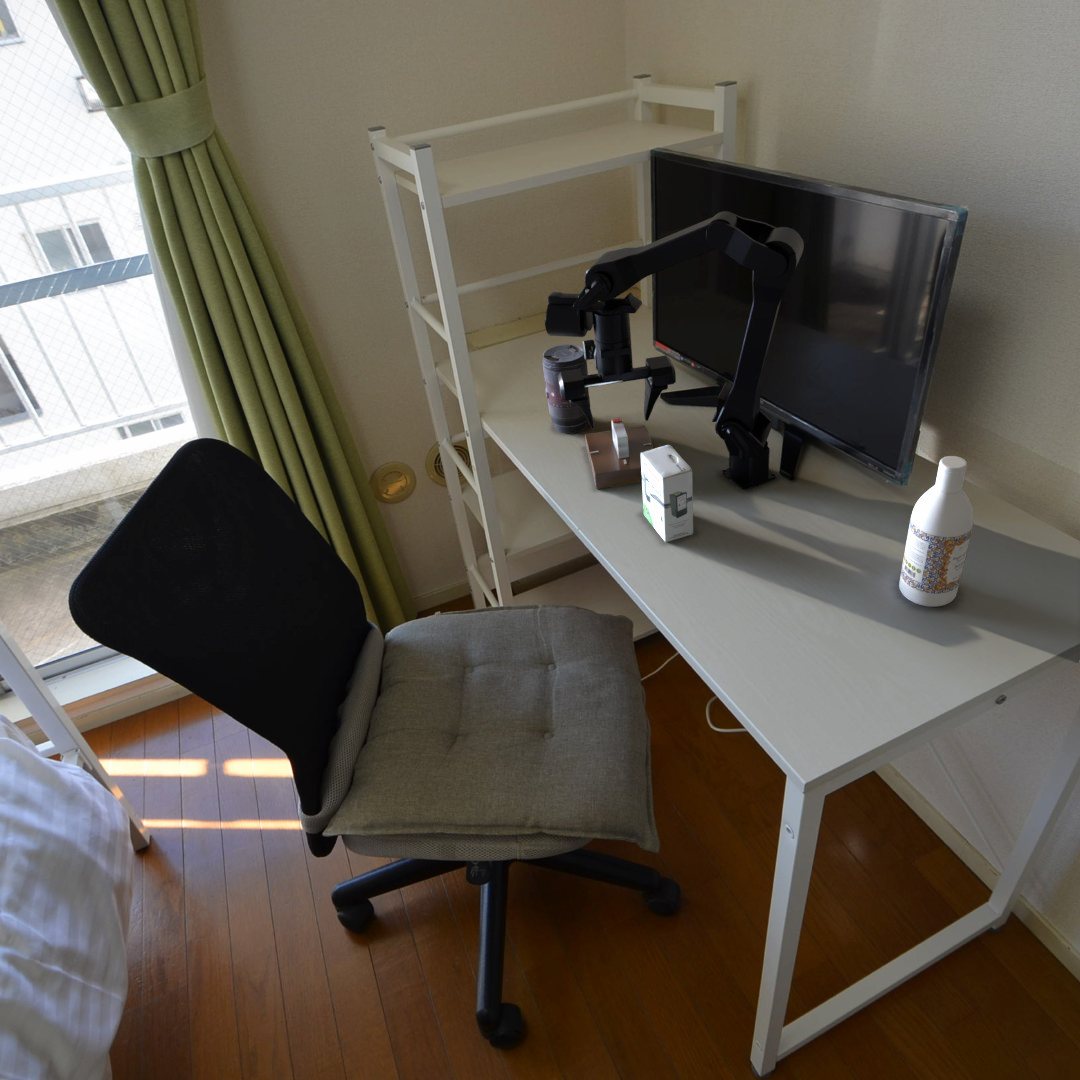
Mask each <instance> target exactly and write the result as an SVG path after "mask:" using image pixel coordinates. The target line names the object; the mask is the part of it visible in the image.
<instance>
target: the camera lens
mask: <svg viewBox="0 0 1080 1080" xmlns="http://www.w3.org/2000/svg"><path fill="white" fill-rule="evenodd" d="M542 368H543V369H542V370H543V377H544V382H545V396H546V397H545V398H546V399H547V403H548V405H547V406H548V412H549V415H550V416H549V417H550V420H551V422H552V423H553V426H554V429H555V430H556V431H557V432H559V433H562V434H563V433H564V434H575V433H578V432H581V431H583V430H585V429H586V428H587V427H588V426H589V425H590V424H589V422H588V420H587V418H586V416H585V414H584V413H583V411H582V410H581V409H580V407H579V406H578V405H577V404H571V403H570V400H567V401H565V400H562V398H561V393H560V389H559V383H558V375H559V373H560V372H561V371H568V370H574V369H581V372H582V376H586V375H589V370H588V360H585V358H584V351H583V347H581V346H579V345H577V344H570V343H569V344H558V345H555V346H551V347H549V348H547V349H545V350H544V352H543V353H542ZM585 390H586V394H587V397H588V401H589V405H590V406H591V399H590V391H589V387H587V388H585Z"/></svg>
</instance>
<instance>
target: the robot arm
mask: <svg viewBox="0 0 1080 1080" xmlns="http://www.w3.org/2000/svg"><path fill="white" fill-rule="evenodd" d="M804 244H805V243H804V239H802V237H801V235H800V233H799V232H797V231H796V230H795V229H793V228H791V227H788V226H780V227H776V226H774V225H772V224H769V223H767V222H764V221H759V220H756V219H751V218H747V217H743V216H740V215H737V214H735V213H733V212H730V211H725V210H724V211H719V212H717V213H716V214H715V215H714V216H713V217H709V218H707V219H705V220H703V221H700V222H698V223H695V224H693V225H691V226H688V227H686V228H684V229H681V230H679V231H677V232H673V233H672V234H669V235H667V236H664V237H662V238H659V239H658V240H655V241H652V242H651V243H648V244H646V245H642V246H637V247H624V248H619V249H615V250H614V249H613V250H610V251H606V252H605V253H603V254H601V255H600V256H599V257H598V258H597V260H596V261H594V262H593V264H592V265H590V266H589V268H587V270H586V272H585V274H584V287H583V289H582V291H581V292H579V293H570V292H569V293H566V292H561V291H552V292H551V293H550V294H549V295H548V296H547V302H548V304H547V306H546V309H545V310H546V312H545V319H544V328H545V331H546V333H547V335H548V336H550V337H572V338H584V337H586V335H587V333H588V332H590V331H592V329H593V334H594V336H593V337H594V339H587V340H582V348H583V351H584V358H585V360H587V361H590V360H594V367H595V370H596V371H597V373H592V374H588V375H586V376H582V372H581V369H574V370H568V371H561V372H560V373H559V375H558V383H559V389H560V393H561V398H562V400H565V401H567V400H570V403H571V404H577V405H578V406H579V407H580V409H581V410H582V411H583V413H584V414H585V416H586V418H587V420H588V422H589V424H588V425H589V426H590V428H591V429H592V430H594V429H595V421H594V417H593V413H592V409H591V404H590V405H589V401H588V397H587V394H586V390H585V388H587V387H588V388H593V387H599V386H605V385H612V384H619V383H625V382H626V383H627V382H632V381H639V380H644V400H643V417H644V420H645V421H646V422H647V421H649V419H650V417H651V415H652V411H653V409H654V407H655V405H656V402H657V401H658V399H659V397H660V396H661V394H662V392H663V391H666V390H668V389H669V385H670V386H671V385H674V384H676V382H677V377H676V369H675V366H674V364H673V362H672V361H671V359H670V357H668V355H660V356H659V355H658V356H652V357H647V358H645V361H644V363H645V364H644V365H645V366H640V367H639V366H638V367H634V366H633V350H632V335H631V323H630V322H631V318H630V314H636V313H637V311H638V310H639V309H640V308H641V307H642V305H643V301H642V300H640V299H639V298H638V297H636V296H634V294H633V293H632V292H628V293H627V294H626V295H625V297H621V296H620V295H622V294H623V293H625V292H627V291H628V290H630V289H631V288H632V287H633V286H635V285H637V283H639V282H641V281H642V280H643V279H645V278H647V277H649V276H652V275H654V274H657V273H660V272H661V271H664V270H667V269H669V268H671V267H674V266H677V265H679V264H682V263H685V262H687V261H689V260H692V259H695V258H697V257H700V256H702V255H705V254H707V253H710V252H712V251H715V250H718V251H720V252H723V253H725V254H726V255H727V256H728V257H730V258H731V259H732V260H733V261H735V262H737V264H739V265H741V266H742V267H745V268H746V269H748V270H751V271H752V279H751V285H752V304H751V308H750V313H749V317H748V321H747V325H746V329H745V334H744V338H743V342H742V346H741V351H740V355H739V359H738V361H737V367H736V372H735V375H734V380H733V383H732V384H731V383H729V382H726V381H725V382H724V383H723V386H722V388H721V391H720V392H719V395H718V397H717V399H716V411H715V413H714V414H713V417H712V420H711V422H712V423H715V424H714V430H715V434H717V435H718V436H719V438H720V439H721V440H722V441H724V444H725V446H726V449H727V452H728V466H729V467H727V468H724V469H722V470H721V475H722V476H724V477H726V478H727V479H728V480H729V481H731V482H732V484H735V485H736V486H737V487H739V488H740V489H742V490H744V491H746V490H749V489H752V488H754V487H757V486H759V485H763V484H765V483H767V482H770V481H773V480H775V479H776V478H777V474H776V473H774V472H773V471H772V470H770V453H771V452H770V449H771V448H770V447H769V442H768V438H769V437H770V433H771V430H772V427H773V424H774V422H773V420H772V419H771V418H769V416H768V415H767V414H766V413H764V411H762V409H761V395H762V394H761V378H762V375H763V372H764V371H763V370H764V366H765V363H766V359H767V356H768V352H769V347H770V343H771V340H772V337H773V332H774V329H775V325H776V321H777V318H778V314H779V310H780V306H781V302H782V299H783V297H784V294H785V292H786V290H787V288H788V286H789V284H790V282H791V280H792V277H793V275H794V274H795V271H796V269H797V266H798V264H799V262H800V260H801V257H802V255H803V252H804V246H805V245H804ZM619 296H620V297H619Z"/></svg>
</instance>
